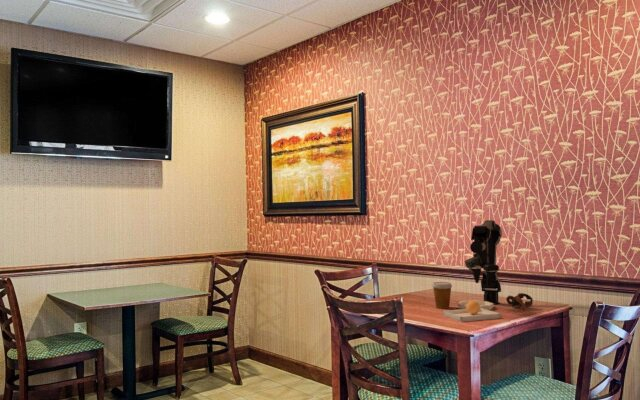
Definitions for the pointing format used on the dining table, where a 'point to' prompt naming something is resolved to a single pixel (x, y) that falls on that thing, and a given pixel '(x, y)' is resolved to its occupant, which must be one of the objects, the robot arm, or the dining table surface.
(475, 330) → the dining table surface
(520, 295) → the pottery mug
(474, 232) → the robot arm
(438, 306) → the disposable coffee cup
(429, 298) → the dining table surface
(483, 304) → the bowl
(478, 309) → the ball
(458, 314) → the tray
